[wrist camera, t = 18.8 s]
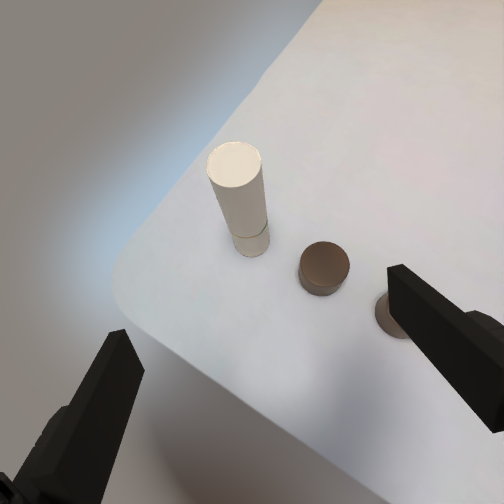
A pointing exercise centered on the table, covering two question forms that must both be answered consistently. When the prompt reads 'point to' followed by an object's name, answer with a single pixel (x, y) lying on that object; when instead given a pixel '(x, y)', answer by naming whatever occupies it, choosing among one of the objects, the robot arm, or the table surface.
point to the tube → (241, 195)
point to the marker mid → (323, 268)
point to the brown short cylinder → (388, 319)
